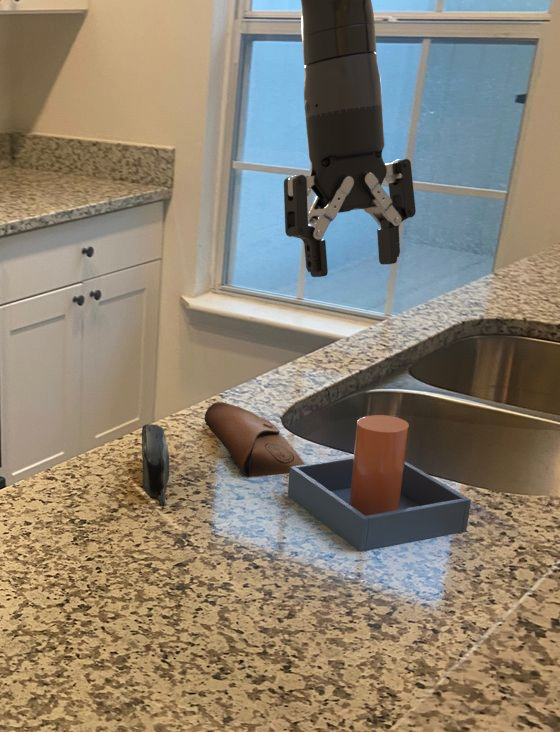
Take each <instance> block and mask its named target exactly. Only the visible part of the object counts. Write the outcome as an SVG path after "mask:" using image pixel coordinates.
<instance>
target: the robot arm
mask: <svg viewBox="0 0 560 732" xmlns="http://www.w3.org/2000/svg"><path fill="white" fill-rule="evenodd" d="M300 4H301V39H302V40H301V43H302V56H303V57H302V58H303V66H304V68H303V71H304V76H303V102H304V112H305V113H304V115H305V127H306V140H307V153H308V155H307V156H308V160H309V161H310V164H311V171H310V174H309V175H307V176H305V175H304V174H297V175H291V176H287V177H286V178H285V179H283V202H284V206H283V207H284V231H285V235H286V236H287V237H290V238H297V239H299V240H302V242H303V245H304V247H303V248H304V258H305V259H304V260H305V268H306V270H307V273H309V274H310V276H311V277H312V278H322V277H327V275H328V273H329V270H328V256H327V255H328V254H327V243H326V239H323V238H324V236H325V234H326V232H327V230H328V228H329V225H330V224H331V223H332V222H333V221H334V220H335V219H336V217H337V216H338V213H339V214H340V213H347V212H351V211H356V210H364V212H365V213H366V214H369V215H370V216H371V217H372V218H373V220H374V221H375V222H376V223H377V224H378V226H379V227H380V228H377V229H376V234H377V248H378V249H377V251H378V262H379V264H380V265H394V264H396V263H397V262H398V258H399V257H400V254H401V243H400V225H401V224H402V222H404V221H406V220H407V219H408V218H410V219H411V218H413V217H414V216H415V215H416V214H417V213H416V212H417V210H416V200H415V191H414V182H413V172H412V163H411V160H410V159H409V158H401V159H395V160H391V161H388V163H385V161H384V158H383V150H384V148H385V131H384V130H385V129H384V113H383V97H382V79H381V72H380V67H379V64H378V63H379V62H378V56H377V39H376V38H377V37H376V26H375V24H376V23H375V14H374V7H373V3H372V0H300ZM384 181H386V182H387V184H388V192H389V194H388V193H387V192H386V190H385V189H384V188H383V187H382V184H383V182H384ZM311 190H312V191H311ZM311 192H313V193H314V194H315V195H316V196H315V200H314V202H313V203H312V205H311V207H310V209H308V197H309V195H310V194H311Z"/></svg>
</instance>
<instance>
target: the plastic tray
mask: <svg viewBox="0 0 560 732" xmlns="http://www.w3.org/2000/svg"><path fill="white" fill-rule="evenodd" d="M353 460H354V455H352V456H348V457H347V456H346V457H341V458H334V459H329V460H324V461H317V462H311V463H305V464H304V465H298V466H291V467H290V470H289V473H288V483H287V484H288V485H287V498H289V499H290V500H291V501H292V502H294V503H295V504H296V505H298V506H299V507H301V508H302V510H304V511H306V512H307V513H308V514H310V515H311V516H312V517H314V518H315V519H316V520H318V521H319V522H320V523H321V524H323V525H324V526H326V527H327V528H328V529H329V530H331V531H332V532H333V533H335V534H336V535H337V536H338V537H340V538H341V539H342V540H344V541H345V542H346V543H348V545H350V546H352V547H353V548H354V549H356V550H357V551H358V552H359V553H362V552H368V551H373V550H377V549H382V548H383V549H384V548H387V547H389V548H390V547H395V546H399V545H404V544H410V543H415V542H420V541H425V540H430V539H435V538H441V537H446V536H451V535H456V534H463V533H466V532H467V530H468V524H469V523H468V522H469V517H470V510H471V504H472V499H470V498H469V497H467V496H466V495H464V494H462V493H460V492H458V491H457V490H455V489H454V488H452V487H450V486H448V485H447V484H445V483H444V482H442V481H440V480H439V479H437V478H435V477H433V476H431V475H429V474H428V473H426V472H425V471H423V470H422V469H419V468H418V467H416V466H414V465H412V464H411V463H410V462H408V461H406V460H405V463H404V471H403V479H402V488H401V496H400V505H399V510H396V511H390V512H385V513H379V514H374V515H368V516H365V515H363V514H362V513H361V512H359V511H358V510H356V509H355V508H353V507H352V506H351V505H349V501H350V491H351V480H352V470H353Z"/></svg>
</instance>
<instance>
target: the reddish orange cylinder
mask: <svg viewBox="0 0 560 732" xmlns="http://www.w3.org/2000/svg"><path fill="white" fill-rule="evenodd" d="M409 427H410V424H409V423H408V422H407V421H406V420H405V419H402V418H401V417H397V416H392V415H384V414H380V415H379V414H373V415H366V416H363V417H360V418H359V419H358V420H357V421H356V429H355V439H354V440H355V441H354V452H353V456H354V460H353V470H352V480H351V491H350V501H349V505H351V506H352V507H353V508H355V509H356V510H358V511H359V512H361V513H362V514H363V515H365V516H368V515H374V514H379V513H385V512H390V511H396V510H399V505H400V496H401V488H402V479H403V471H404V463H405V461H406V453H407V445H408V437H409Z"/></svg>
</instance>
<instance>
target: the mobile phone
mask: <svg viewBox="0 0 560 732" xmlns="http://www.w3.org/2000/svg"><path fill="white" fill-rule="evenodd" d="M169 453H170V452H169V446H168V443H167V439H166V433H165V429H164V428H163V427H162V426H161V425H159V424H153V423H152V424H149V423H147V424H144V425H143V426H142V428H141V459H142V488H143V491H144V492H145V494H146V495H147V496H148V497H152V498H157V499H158V500H159V504H160V506H161V507H165V506H167V505H168V504H167V500H166V493H167V488H168V482H169V479H170V454H169Z"/></svg>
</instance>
